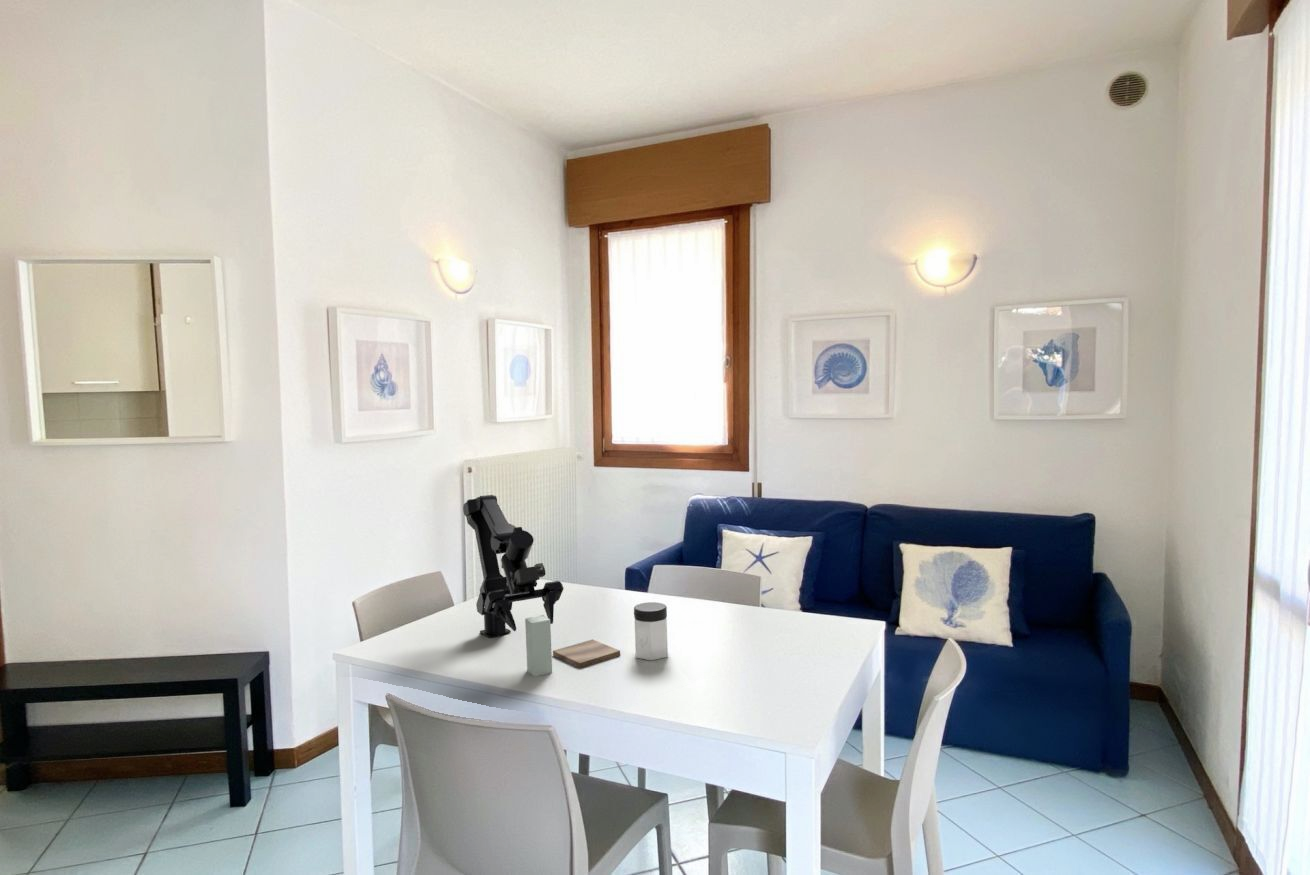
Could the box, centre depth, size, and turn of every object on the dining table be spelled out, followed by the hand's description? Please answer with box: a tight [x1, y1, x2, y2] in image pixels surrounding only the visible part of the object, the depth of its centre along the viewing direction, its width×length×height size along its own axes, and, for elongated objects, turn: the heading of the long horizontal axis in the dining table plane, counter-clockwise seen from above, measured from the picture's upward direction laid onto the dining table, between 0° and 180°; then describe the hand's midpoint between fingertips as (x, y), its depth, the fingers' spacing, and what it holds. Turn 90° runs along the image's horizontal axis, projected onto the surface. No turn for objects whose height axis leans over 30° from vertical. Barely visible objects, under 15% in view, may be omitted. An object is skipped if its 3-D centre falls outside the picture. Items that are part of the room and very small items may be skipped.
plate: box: [552, 639, 621, 669], centre depth 175 cm, size 12×12×1 cm
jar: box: [633, 601, 669, 661], centre depth 174 cm, size 9×8×12 cm
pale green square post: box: [524, 614, 553, 677], centre depth 165 cm, size 4×4×12 cm
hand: (533, 626), depth 167 cm, fingers open, 9 cm apart
